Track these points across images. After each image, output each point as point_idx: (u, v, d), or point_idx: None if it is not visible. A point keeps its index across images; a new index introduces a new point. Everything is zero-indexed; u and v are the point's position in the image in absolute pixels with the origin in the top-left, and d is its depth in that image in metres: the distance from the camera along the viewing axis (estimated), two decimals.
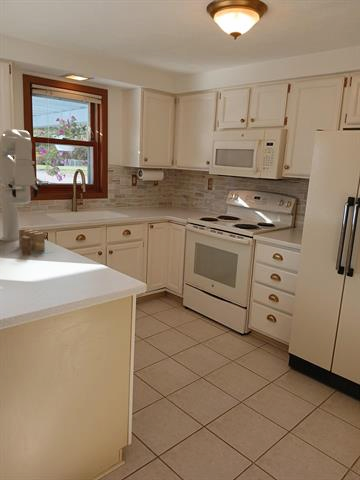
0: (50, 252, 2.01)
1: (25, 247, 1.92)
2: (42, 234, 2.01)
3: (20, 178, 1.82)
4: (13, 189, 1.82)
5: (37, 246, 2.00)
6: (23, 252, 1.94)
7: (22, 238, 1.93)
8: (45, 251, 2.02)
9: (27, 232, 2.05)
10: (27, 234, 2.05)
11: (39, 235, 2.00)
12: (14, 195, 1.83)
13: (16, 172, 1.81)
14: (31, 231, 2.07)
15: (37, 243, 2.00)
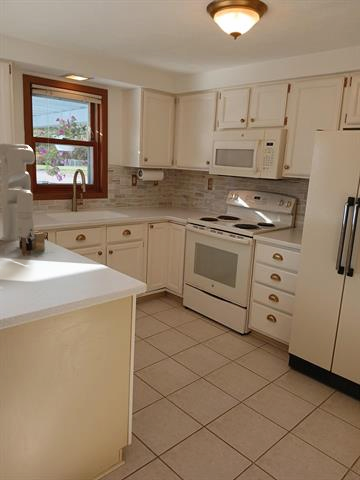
0: (50, 252, 2.01)
1: (25, 247, 1.92)
2: (42, 234, 2.01)
3: None
4: (32, 242, 1.92)
5: (37, 246, 2.00)
6: (23, 252, 1.94)
7: (22, 238, 1.93)
8: (45, 251, 2.02)
9: None
10: None
11: (39, 235, 2.00)
12: (31, 248, 1.93)
13: None
14: None
15: (37, 243, 2.00)
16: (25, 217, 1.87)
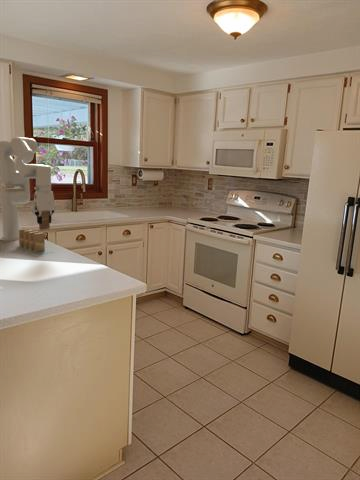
0: (50, 252, 2.01)
1: (47, 221, 1.97)
2: (42, 234, 2.01)
3: None
4: None
5: (37, 246, 2.00)
6: (43, 226, 1.95)
7: (42, 212, 1.93)
8: (45, 251, 2.02)
9: (27, 232, 2.05)
10: (27, 234, 2.05)
11: (39, 235, 2.00)
12: None
13: None
14: (31, 231, 2.07)
15: (37, 243, 2.00)
16: None
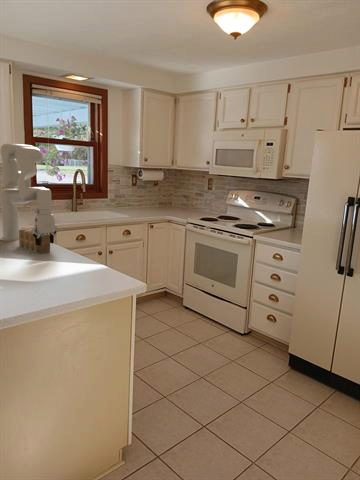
0: (50, 252, 2.01)
1: (47, 244, 1.99)
2: (42, 234, 2.01)
3: None
4: None
5: (37, 246, 2.00)
6: (44, 250, 1.98)
7: (43, 237, 1.96)
8: None
9: (27, 232, 2.05)
10: (27, 234, 2.05)
11: None
12: None
13: None
14: None
15: None
16: (51, 212, 1.97)
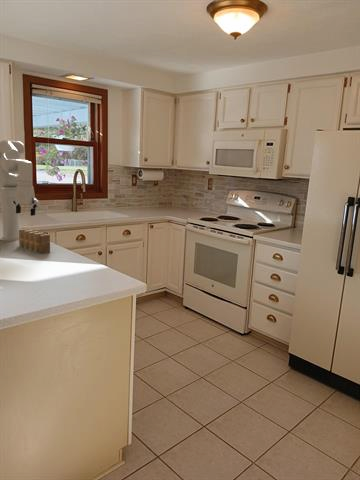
0: (50, 252, 2.01)
1: (47, 244, 1.99)
2: (42, 234, 2.01)
3: None
4: None
5: (37, 246, 2.00)
6: (44, 250, 1.98)
7: (43, 237, 1.96)
8: None
9: (27, 232, 2.05)
10: (27, 234, 2.05)
11: None
12: (34, 213, 2.06)
13: None
14: (31, 231, 2.07)
15: (37, 243, 2.00)
16: (28, 185, 2.00)
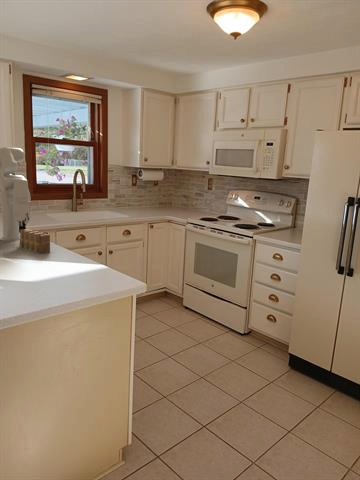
0: (50, 252, 2.01)
1: (47, 244, 1.99)
2: (42, 234, 2.01)
3: None
4: (25, 225, 2.10)
5: (37, 246, 2.00)
6: (44, 250, 1.98)
7: (43, 237, 1.96)
8: None
9: (27, 232, 2.05)
10: (27, 234, 2.05)
11: None
12: None
13: None
14: (31, 231, 2.07)
15: (37, 243, 2.00)
16: (21, 202, 2.04)
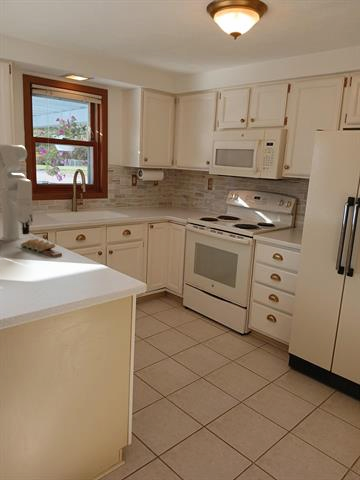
0: None
1: None
2: (52, 247, 1.97)
3: None
4: None
5: (41, 251, 1.98)
6: None
7: None
8: None
9: None
10: None
11: (49, 248, 1.96)
12: (28, 232, 2.09)
13: None
14: None
15: None
16: (25, 203, 2.02)
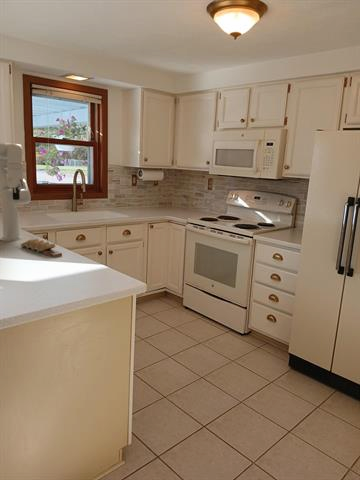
0: None
1: None
2: (52, 247, 1.97)
3: None
4: (19, 192, 2.07)
5: (41, 251, 1.98)
6: None
7: None
8: None
9: None
10: None
11: (49, 248, 1.96)
12: (19, 197, 2.08)
13: None
14: None
15: None
16: (15, 168, 2.01)
